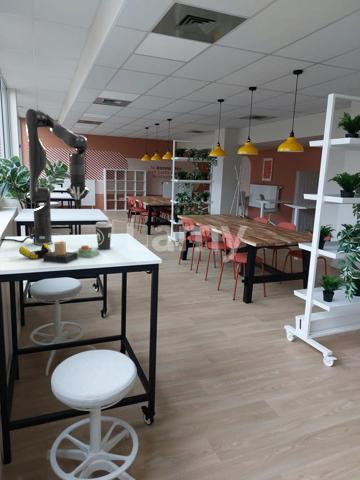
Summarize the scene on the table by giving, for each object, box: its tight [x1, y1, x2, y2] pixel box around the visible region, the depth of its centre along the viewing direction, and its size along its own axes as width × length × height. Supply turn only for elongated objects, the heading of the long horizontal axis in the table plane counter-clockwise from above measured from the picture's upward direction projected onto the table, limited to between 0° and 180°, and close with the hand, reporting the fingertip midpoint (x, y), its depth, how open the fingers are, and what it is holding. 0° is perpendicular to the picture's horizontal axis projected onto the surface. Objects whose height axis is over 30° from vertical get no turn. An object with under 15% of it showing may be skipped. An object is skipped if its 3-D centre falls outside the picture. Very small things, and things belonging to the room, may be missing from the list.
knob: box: [53, 240, 67, 255], centre depth 164 cm, size 5×5×6 cm
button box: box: [72, 247, 100, 259], centre depth 176 cm, size 11×9×4 cm
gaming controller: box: [18, 243, 52, 260], centre depth 170 cm, size 15×6×10 cm
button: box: [80, 244, 90, 250], centre depth 175 cm, size 4×4×2 cm
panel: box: [42, 250, 78, 264], centre depth 165 cm, size 12×10×3 cm
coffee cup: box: [94, 221, 113, 251], centre depth 192 cm, size 10×10×15 cm
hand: (78, 206), depth 183 cm, fingers closed
